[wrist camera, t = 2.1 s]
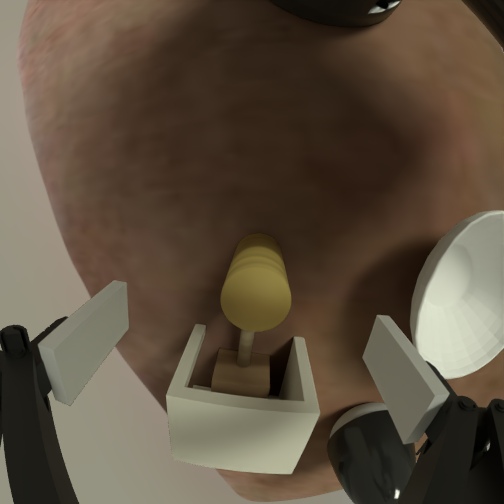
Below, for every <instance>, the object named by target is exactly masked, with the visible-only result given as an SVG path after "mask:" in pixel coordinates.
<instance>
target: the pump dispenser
mask: <svg viewBox="0 0 504 504" xmlns="http://www.w3.org/2000/svg"><path fill="white" fill-rule="evenodd" d="M327 452H328V456H329V459H330V462H331V465H332V467H333V470H334V472H335V474H336V476H337V478H338V480H339V482H340V484H341V486H342V487H343V489H344V490H345V492H346V493H347V495H348V496H349V498H350V499H351V500H352V502H353V503H354V504H397V503H398V501H399V499H400V497H401V495H402V493H403V491H404V489H405V487H406V485H407V483H408V481H409V479H410V476H411V474H412V472H413V470H414V467H415V465H416V451H415V444H414V443H408V444H403V442H402V440H401V437H400V435H399V433H398V431H397V429H396V426H395V424H394V422H393V420H392V418H391V416H390V413H389V411H388V409H387V407H386V405H385V403H378V402H372V403H366V404H362V405H359V406H356V407H354V408H352V409H350V410H349V411H347V412H346V413H345V414H343V415H342V416H341V417H340V418H339V419H338V420H337V422H336V423H335V425H334V426H333V428H332V431H331V434H330V439H329V441H328V444H327Z"/></svg>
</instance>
